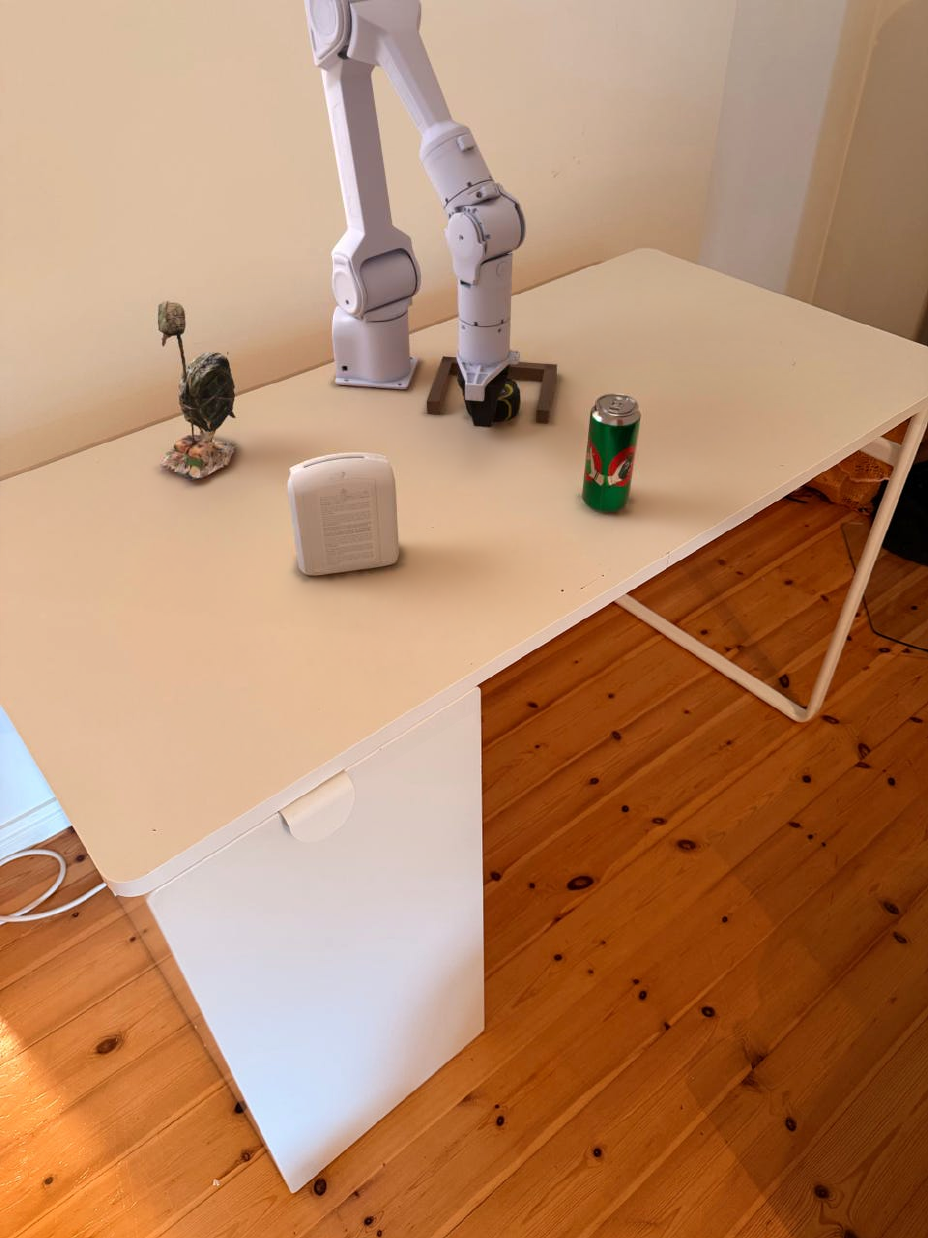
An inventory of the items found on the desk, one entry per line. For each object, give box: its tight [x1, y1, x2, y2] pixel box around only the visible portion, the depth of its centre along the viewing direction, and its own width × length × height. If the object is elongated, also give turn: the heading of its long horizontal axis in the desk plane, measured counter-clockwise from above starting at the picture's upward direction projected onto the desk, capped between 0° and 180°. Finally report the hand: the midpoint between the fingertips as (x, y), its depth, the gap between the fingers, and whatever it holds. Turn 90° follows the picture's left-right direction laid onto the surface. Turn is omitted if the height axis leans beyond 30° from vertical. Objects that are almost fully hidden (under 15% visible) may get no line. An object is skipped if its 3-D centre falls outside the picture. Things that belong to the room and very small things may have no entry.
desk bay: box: [426, 355, 558, 424], centre depth 117 cm, size 15×12×2 cm
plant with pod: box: [157, 300, 237, 482], centre depth 101 cm, size 8×11×20 cm
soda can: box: [581, 392, 642, 514], centre depth 97 cm, size 5×5×12 cm
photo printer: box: [286, 451, 400, 576], centre depth 90 cm, size 10×4×12 cm, turn 103°
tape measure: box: [461, 379, 522, 424], centre depth 113 cm, size 7×7×4 cm
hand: (483, 424), depth 110 cm, fingers closed
